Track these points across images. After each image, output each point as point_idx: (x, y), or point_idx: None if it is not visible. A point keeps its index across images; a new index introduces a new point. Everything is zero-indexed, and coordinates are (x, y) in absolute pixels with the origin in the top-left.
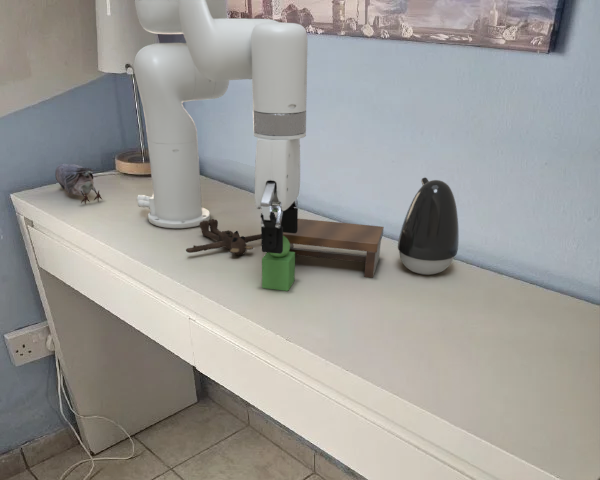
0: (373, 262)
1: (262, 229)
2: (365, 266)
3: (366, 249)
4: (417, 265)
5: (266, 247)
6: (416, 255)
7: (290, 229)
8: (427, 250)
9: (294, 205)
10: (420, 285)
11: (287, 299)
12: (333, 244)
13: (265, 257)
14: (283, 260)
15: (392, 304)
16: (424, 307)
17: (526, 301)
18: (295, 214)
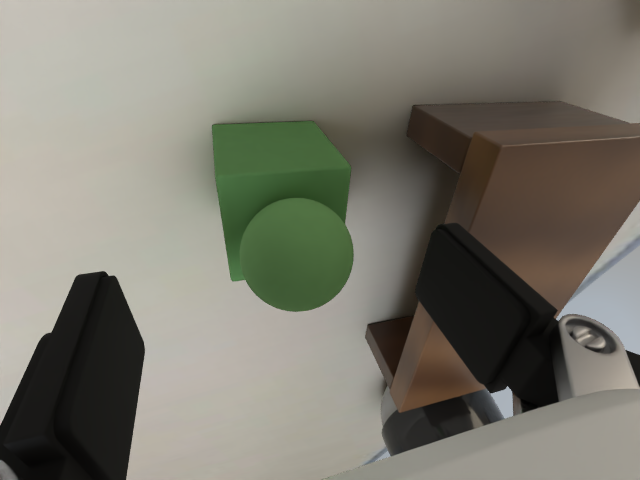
0: (379, 366)
1: (23, 415)
2: (377, 345)
3: (395, 383)
4: (385, 403)
5: (45, 335)
6: (390, 424)
7: (426, 286)
8: (390, 448)
9: (515, 397)
10: (345, 393)
11: (163, 230)
12: (417, 331)
13: (240, 187)
14: (235, 263)
15: (247, 393)
16: (254, 422)
17: (319, 469)
18: (466, 364)
